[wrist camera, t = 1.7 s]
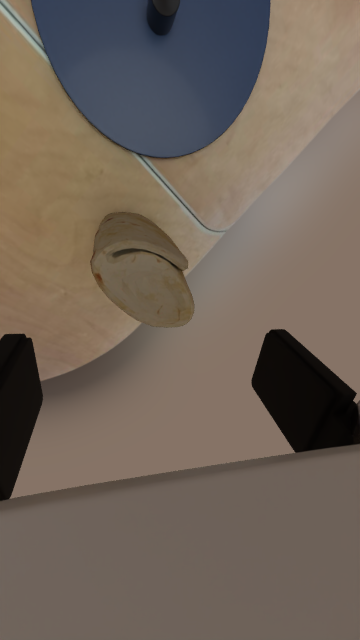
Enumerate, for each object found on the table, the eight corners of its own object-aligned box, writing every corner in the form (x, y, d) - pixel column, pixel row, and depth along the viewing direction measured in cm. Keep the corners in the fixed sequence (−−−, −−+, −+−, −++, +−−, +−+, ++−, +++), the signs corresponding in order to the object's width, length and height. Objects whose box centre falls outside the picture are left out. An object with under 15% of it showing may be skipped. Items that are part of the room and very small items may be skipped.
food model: (91, 233, 33) (61, 291, 16) (120, 191, 32) (122, 205, 15) (149, 277, 38) (173, 357, 21) (178, 241, 36) (230, 297, 19)
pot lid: (293, -125, 23) (330, -191, 19) (239, 170, 33) (255, 168, 29) (4, -259, 17) (-31, -391, 13) (49, 143, 28) (37, 136, 24)
